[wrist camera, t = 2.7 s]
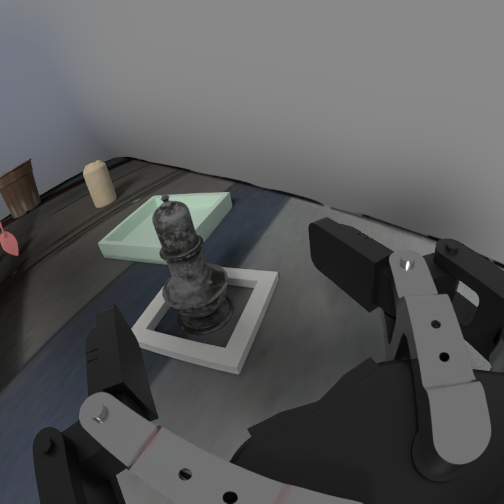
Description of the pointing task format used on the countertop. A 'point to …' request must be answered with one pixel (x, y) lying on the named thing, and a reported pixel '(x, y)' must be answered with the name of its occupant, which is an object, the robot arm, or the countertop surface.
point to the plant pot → (19, 189)
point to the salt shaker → (190, 272)
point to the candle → (99, 184)
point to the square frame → (208, 354)
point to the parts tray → (144, 234)
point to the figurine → (9, 245)
